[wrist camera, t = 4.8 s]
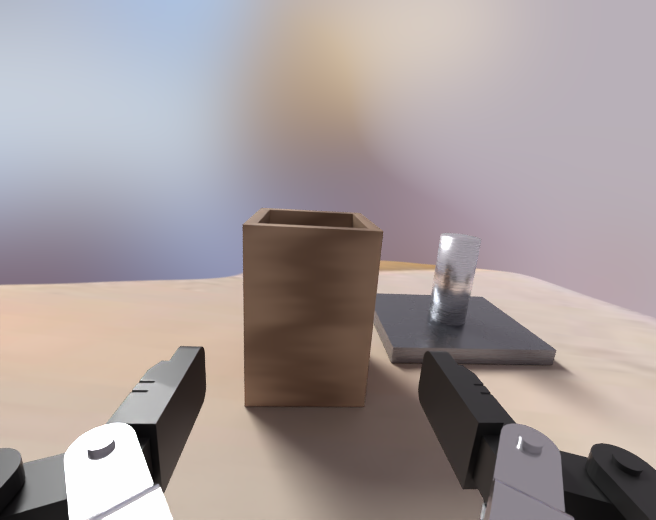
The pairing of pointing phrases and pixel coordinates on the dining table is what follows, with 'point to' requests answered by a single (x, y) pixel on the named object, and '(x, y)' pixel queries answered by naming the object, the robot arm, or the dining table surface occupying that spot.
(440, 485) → the dining table surface
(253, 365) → the walnut sleeve
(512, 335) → the post plate
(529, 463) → the robot arm
